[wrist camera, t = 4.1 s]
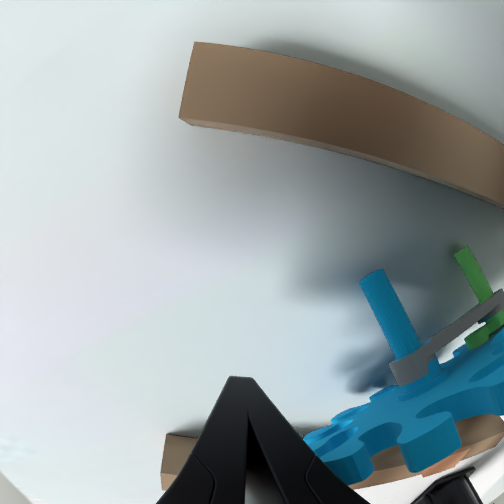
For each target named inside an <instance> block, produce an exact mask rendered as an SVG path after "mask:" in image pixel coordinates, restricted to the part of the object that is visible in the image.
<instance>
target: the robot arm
mask: <svg viewBox="0 0 504 504" xmlns="http://www.w3.org/2000/svg"><path fill="white" fill-rule="evenodd" d="M475 470H476V468H475V467H472V468H469V469H467V470H465V471H462V472H460V473H457V474H455V475H452V476H450V477H447V478H444V479H442V480H439V481H437V482H435V483H434V484H433V485H432V486H431V487H429V488H428V489H427V490H426V491H425V492H424V493H423V494H422V495H421V496H420V497H419V498H418V499H417V500H416V501H414V502H413V503H412V504H483V503H482V501H481V499H480V497H479V496H478V494H477V492H476V490H475V489H474V487H473V485H472V483H471V482H470V480H469V478H468V477H469V476H470V475H471V474H472V473H473V472H474V471H475ZM156 504H370V503H369V502H368V501H366V500H365V499H364V498H362V497H361V496H360V495H359V494H357V493H356V492H355V491H354V490H353V489H351V488H350V487H349V486H348V485H347V484H345V483H344V482H343V481H342V480H341V479H340V478H339V477H338V476H336V475H335V474H334V473H333V472H332V471H331V470H330V469H329V468H328V466H327V465H326V464H325V463H324V462H323V461H322V460H321V459H320V458H319V457H318V456H317V455H315V452H314V451H313V450H312V449H311V448H310V447H309V446H308V444H307V443H306V442H305V441H304V440H303V439H302V437H301V436H300V435H299V434H298V433H297V432H296V430H295V429H294V428H293V427H292V426H291V424H290V423H289V422H288V421H287V420H286V419H285V417H284V416H283V415H282V414H281V412H280V411H279V410H278V409H277V408H276V406H275V405H274V404H273V403H272V401H271V400H270V399H269V398H268V396H267V395H266V394H265V393H264V391H263V390H262V389H261V388H260V386H259V385H258V384H257V383H256V381H255V380H254V379H253V378H251V377H239V376H229V377H228V379H227V381H226V384H225V386H224V388H223V390H222V392H221V394H220V396H219V398H218V400H217V402H216V404H215V406H214V408H213V410H212V412H211V414H210V415H209V417H208V419H207V421H206V423H205V425H204V427H203V429H202V431H201V433H200V435H199V437H198V439H197V441H196V443H195V445H194V447H193V449H192V451H191V453H190V454H189V456H188V458H187V460H186V462H185V463H184V465H183V467H182V468H181V470H180V472H179V474H178V475H177V477H176V478H175V480H174V481H173V482H172V484H171V485H170V487H169V488H168V489H167V491H166V492H165V493H164V494H163V496H162V497H161V498H160V499H159V500H158V502H157V503H156ZM493 504H494V503H493Z"/></svg>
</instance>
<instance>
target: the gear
mask: <svg viewBox="0 0 504 504" xmlns="http://www.w3.org/2000/svg"><path fill="white" fill-rule="evenodd" d="M454 256H455V258H456V259H457V261H458V263H459V265H460V267H461V268H462V270H463V272H464V274H465V276H466V277H467V279H468V281H469V283H470V285H471V287H472V289H473V291H474V293H475V295H476V297H477V299H478V301H479V304H478V305H476V306H475V307H474V308H472V309H471V310H470V311H468V312H467V313H466V314H464V315H463V316H461V317H460V318H459V319H457V320H456V321H454V322H453V323H451V324H450V325H449V326H447V327H446V328H444V329H443V330H441V331H440V332H438V333H437V334H435V335H434V336H432V337H431V338H429V339H427V340H426V341H424V342H423V343H420V341H419V339H418V337H417V335H416V332H415V330H414V328H413V326H412V324H411V322H410V320H409V318H408V316H407V314H406V312H405V310H404V308H403V306H402V304H401V302H400V300H399V298H398V296H397V295H396V293H395V291H394V289H393V287H392V285H391V283H390V281H389V280H388V278H387V276H386V274H385V272H384V270H383V269H380V270H377V271H375V272H373V273H371V274H369V275H368V276H366V277H365V278H363V279H362V280H361V281H360V282H359V284H360V286H361V288H362V290H363V292H364V294H365V296H366V298H367V300H368V302H369V304H370V306H371V308H372V310H373V312H374V314H375V316H376V318H377V320H378V322H379V324H380V326H381V328H382V330H383V332H384V334H385V336H386V339H387V341H388V343H389V345H390V347H391V349H392V351H393V354H394V356H395V358H396V359H395V360H393V361H392V362H390V363H389V366H390V368H391V371H392V373H393V375H394V377H395V380H396V382H397V384H398V385H391V386H388V387H386V388H384V389H382V390H380V391H379V392H377V393H375V394H374V395H372V396H371V397H369V398H370V401H371V402H370V403H367V404H364V405H361V406H358V407H354V408H350V409H348V410H345V411H343V412H341V413H339V414H338V415H336V416H335V417H334V418H332V419H331V422H332V425H330V426H327V427H323V428H320V429H317V430H315V431H313V432H310V433H308V434H306V435H305V437H304V438H303V440H304V441H305V442H306V443H307V444H308V446H309V447H310V448H311V449H312V450H313V451H314V452H315V455H317V456H318V457H319V458H320V459H321V460H322V461H323V462H324V463H325V464H326V465H327V466H328V468H329V469H330V470H331V471H332V472H333V473H334V474H335V475H336V476H338V477H339V478H340V479H341V480H342V481H343V482H344V483H345V484H347V485H352V484H356V483H359V482H362V481H364V480H365V479H367V478H368V477H369V476H370V475H371V474H372V473H373V472H374V466H373V463H372V461H371V458H372V457H373V456H374V455H376V454H377V453H379V452H381V451H383V450H385V449H387V448H390V447H393V446H399V448H400V451H401V453H402V456H403V458H404V461H405V463H406V466H407V468H408V470H409V472H411V473H418V472H420V471H422V470H424V469H427V468H429V467H431V466H433V465H434V464H436V463H438V462H440V461H442V460H443V459H445V458H446V457H448V456H449V455H451V454H452V453H454V452H455V451H456V450H458V449H459V448H460V447H461V446H462V442H461V439H460V436H459V434H458V431H457V428H456V425H455V422H457V421H460V420H464V419H467V418H470V417H474V416H478V415H485V414H493V415H497V416H502V415H504V292H503V290H502V288H501V289H499V290H498V291H496V292H495V293H493V292H492V290H491V288H490V286H489V284H488V282H487V280H486V278H485V276H484V274H483V273H482V271H481V269H480V267H479V265H478V264H477V262H476V260H475V258H474V256H473V255H472V253H471V251H470V250H469V248H468V246H466V247H464V248H463V249H461V250H460V251H459V252H457V253H456V254H455V255H454ZM476 322H478V324H481V323H483V322H486V324H485V325H484V326H482V327H480V328H479V329H477V330H475V331H474V332H472V333H471V334H469V335H468V336H467V337H466V338H465V339H464V340H465V342H466V344H464V345H462V346H461V347H459V348H458V349H456V350H455V351H453V355H454V358H452V359H451V360H449V361H447V362H445V363H442V364H439V362H438V360H437V357H436V355H435V352H436V351H438V350H439V349H441V348H442V347H444V346H445V345H447V344H448V343H449V342H451V341H452V340H454V339H455V338H456V337H458V336H459V335H460V334H462V333H463V332H464V331H466V330H467V329H468V328H470V327H471V326H472V325H474V324H475V323H476Z"/></svg>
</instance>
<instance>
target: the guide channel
mask: <svg viewBox="0 0 504 504" xmlns="http://www.w3.org/2000/svg"><path fill="white" fill-rule="evenodd" d="M179 118H180V119H182V120H183V121H185V122H187V123H188V124H190V125H193V126H201V127H208V128H216V129H223V130H229V131H236V132H242V133H248V134H254V135H259V136H265V137H270V138H275V139H280V140H285V141H290V142H295V143H300V144H304V145H309V146H313V147H317V148H322V149H326V150H330V151H334V152H338V153H342V154H346V155H350V156H353V157H357V158H361V159H364V160H368V161H372V162H375V163H378V164H382V165H385V166H389V167H392V168H395V169H398V170H401V171H405V172H408V173H411V174H414V175H417V176H420V177H423V178H426V179H429V180H431V181H434V182H437V183H440V184H443V185H445V186H448V187H451V188H453V189H456V190H459V191H461V192H464V193H466V194H469V195H471V196H474V197H476V198H479V199H481V200H484V201H486V202H488V203H491V204H493V205H495V206H498V207H500V208H502V209H504V145H503V144H502V143H500V142H499V141H497V140H495V139H494V138H492V137H490V136H489V135H487V134H485V133H484V132H482V131H480V130H479V129H477V128H475V127H473V126H471V125H470V124H468V123H466V122H464V121H462V120H460V119H459V118H457V117H455V116H453V115H451V114H449V113H447V112H445V111H443V110H441V109H439V108H437V107H435V106H433V105H430V104H428V103H426V102H424V101H422V100H419V99H417V98H415V97H413V96H410V95H408V94H406V93H403V92H401V91H398V90H396V89H393V88H391V87H388V86H386V85H383V84H380V83H378V82H375V81H372V80H369V79H366V78H364V77H361V76H358V75H355V74H352V73H348V72H345V71H342V70H339V69H335V68H332V67H329V66H325V65H322V64H318V63H314V62H310V61H306V60H302V59H298V58H294V57H290V56H285V55H281V54H276V53H271V52H266V51H260V50H255V49H249V48H243V47H236V46H229V45H222V44H213V43H204V42H194V46H193V50H192V54H191V59H190V63H189V68H188V72H187V77H186V82H185V87H184V92H183V97H182V102H181V107H180V113H179ZM455 425H456V428H457V431H458V434H459V436H460V439H461V442H462V446H461V447H460V448H459V449H458V450H456V451H455V452H454V453H452V454H451V455H449V456H448V457H446V458H445V459H443V460H442V461H440V462H438V463H436V464H434V465H433V466H431V467H429V468H427V469H424V470H422V471H420V472H418V473H411V472H409V470H408V468H407V466H406V463H405V461H404V458H403V456H402V453H401V451H400V448H399V446H393V447H390V448H387V449H385V450H383V451H381V452H379V453H377V454H376V455H374V456H373V457H372V458H371V461H372V463H373V466H374V472H373V473H372V474H371V475H370V476H369V477H368V478H367V479H365V480H364V481H362V482H359V483H356V484H352V485H348V486H349V487H350V488H351V489H353V490H354V489H360V488H365V487H370V486H375V485H380V484H385V483H389V482H394V481H398V480H402V479H405V478H409V477H413V476H416V475H420V474H422V476H423V477H427V476H430V475H433V474H436V473H439V472H442V471H445V470H448V469H450V468H453V467H455V466H456V464H457V463H458V462H459V461H462V460H464V459H467V458H469V457H472V456H474V455H477V454H479V453H481V452H484V451H486V450H488V449H491V448H493V447H495V446H496V445H497V444H498V443H499V441H500V440H501V439H502V438H503V437H504V421H503V420H502V419H501V417H500V416H497V415H493V414H485V415H478V416H474V417H471V418H467V419H464V420H460V421H457V422H455ZM197 439H198V438H189V437H182V436H175V435H168V434H166V439H165V445H164V452H163V459H162V465H161V484H162V490H166V491H167V489H168V488H169V487H170V485H171V484H172V482H173V481H174V480H175V478H176V477H177V475H178V474H179V472H180V470H181V468H182V467H183V465H184V463H185V462H186V460H187V458H188V456H189V454H190V453H191V451H192V449H193V447H194V445H195V443H196V441H197Z"/></svg>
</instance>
